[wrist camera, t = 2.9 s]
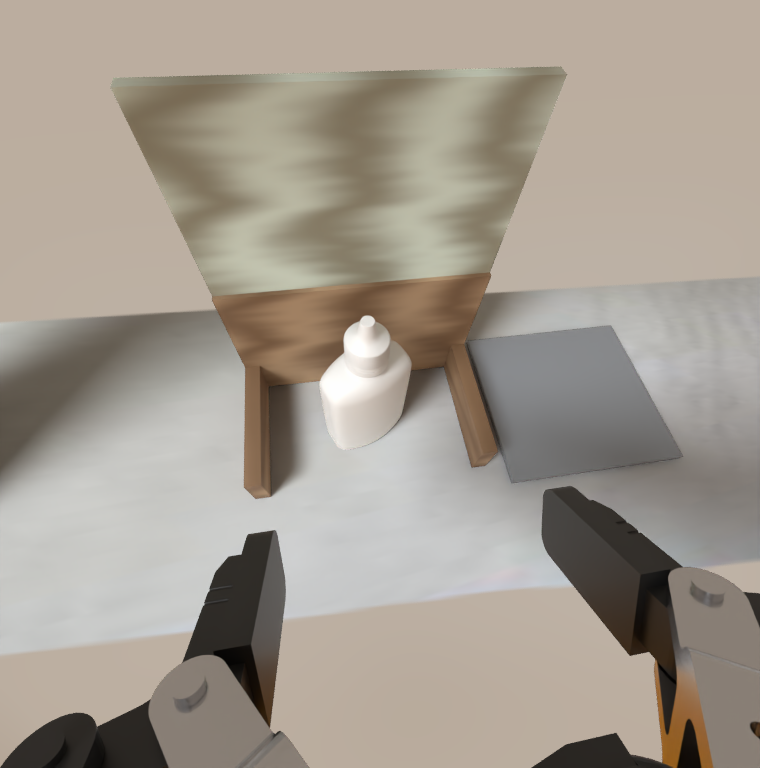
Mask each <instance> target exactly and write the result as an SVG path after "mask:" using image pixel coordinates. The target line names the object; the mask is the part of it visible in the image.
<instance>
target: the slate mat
mask: <svg viewBox="0 0 760 768" xmlns="http://www.w3.org/2000/svg"><path fill="white" fill-rule="evenodd" d="M467 345H468V349H469V352H470V355H471V358H472V361H473V364H474V367H475V370H476V373H477V377H478V380H479V383H480V386H481V389H482V392H483V395H484V398H485V401H486V405H487V408H488V411H489V414H490V417H491V420H492V423H493V426H494V430H495V433H496V436H497V439H498V442H499V445H500V448H501V451H502V454H503V458H504V461H505V464H506V467H507V470H508V473H509V476H510V479H511V483H518V482H524V481H531V480H537V479H544V478H551V477H557V476H564V475H570V474H577V473H584V472H590V471H597V470H603V469H610V468H617V467H623V466H630V465H637V464H643V463H650V462H656V461H663V460H670V459H676V458H680V457H683V455H682V453H681V451H680V450H679V448H678V446H677V444H676V442H675V441H674V439H673V437H672V435H671V433H670V432H669V430H668V428H667V426H666V424H665V422H664V421H663V419H662V417H661V415H660V413H659V412H658V410H657V408H656V406H655V404H654V403H653V401H652V399H651V397H650V395H649V394H648V392H647V390H646V388H645V386H644V384H643V383H642V381H641V379H640V377H639V375H638V374H637V372H636V370H635V368H634V366H633V365H632V363H631V361H630V359H629V357H628V356H627V354H626V352H625V350H624V348H623V346H622V345H621V343H620V341H619V339H618V337H617V336H616V334H615V332H614V330H613V328H612V327H611V326H601V327H592V328H582V329H573V330H564V331H554V332H545V333H536V334H526V335H517V336H508V337H498V338H489V339H479V340H470V341H468V342H467Z"/></svg>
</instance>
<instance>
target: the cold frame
mask: <svg viewBox="0 0 760 768" xmlns="http://www.w3.org/2000/svg"><path fill="white" fill-rule="evenodd" d="M566 76H567V74H566V72H565V71H564V70H563V69H562V67H531V68H491V69H490V68H489V69H450V70H410V71H371V72H332V73H292V74H254V75H253V74H252V75H214V76H176V77H175V76H173V77H135V78H113V81H112V84H111V89H112V91H113V93H114V95H115V97H116V99H117V101H118V103H119V106H120V108H121V110H122V112H123V114H124V116H125V118H126V120H127V122H128V124H129V126H130V128H131V130H132V132H133V134H134V136H135V138H136V141H137V142H138V145H139V147H140V148H141V151H142V153H143V155H144V157H145V159H146V161H147V163H148V165H149V167H150V169H151V171H152V173H153V175H154V177H155V180H156V182H157V184H158V186H159V188H160V190H161V192H162V194H163V196H164V198H165V200H166V202H167V204H168V206H169V208H170V210H171V212H172V214H173V216H174V219H175V221H176V223H177V225H178V227H179V228H180V231H181V233H182V235H183V237H184V239H185V241H186V243H187V245H188V247H189V249H190V251H191V253H192V255H193V258H194V260H195V261H196V264H197V266H198V268H199V270H200V272H201V274H202V276H203V278H204V280H205V282H206V284H207V286H208V288H209V290H210V292H211V294H212V301H213V303H214V305H215V307H216V309H217V311H218V313H219V315H220V317H221V319H222V321H223V323H224V325H225V327H226V330H227V332H228V334H229V336H230V338H231V340H232V342H233V344H234V346H235V348H236V350H237V352H238V354H239V356H240V358H241V360H242V362H243V364H244V366H245V442H244V488H245V489H246V490H247V491H248V492H249V493H250V494H251V495H252V496H253V497H254V498H255V499H259V498H265V497H271V471H270V424H269V386H278V385H287V384H296V383H305V382H313V381H320V380H321V377H322V376H323V374H324V373H325V371H326V370H327V369H328V368H329V366H330V365H331V364H332V363H333V362H334V361H335V360H336V359H337V358H338V357H340V356H341V355H342V354H343V353H344V341H343V340H344V339H343V338H344V334H345V332H346V330H347V329H348V328H349V327H350V326H351V325H352V324H354V323H356V322H359V321H360V320H361V318H362V317H363V316H372V317H373V318H374V319H375V322H377V323H380V324H381V325H383V326H384V327H385V328H386V329H387V330H388V332H389V334H390V338H391V340H392V341H395V342H397V343H398V344H399V345H400V346H401V347H402V348H403V349H404V350H405V352H406V353H407V354H408V356H409V357H410V360H411V362H412V366H411V370H419V369H428V368H436V367H444V369H445V373H446V376H447V380H448V384H449V387H450V391H451V395H452V398H453V402H454V405H455V409H456V413H457V416H458V420H459V423H460V427H461V431H462V434H463V438H464V442H465V445H466V449H467V452H468V456H469V460H470V463H471V467H479V466H485V465H486V464H487V463H488V462H489V461H490V460H491V459H492V458H493V457H494V455H495V454H496V453H497V452H498V450H497V447H496V443H495V440H494V437H493V434H492V431H491V428H490V424H489V421H488V418H487V415H486V412H485V409H484V405H483V402H482V399H481V396H480V393H479V390H478V386H477V383H476V380H475V377H474V374H473V371H472V368H471V364H470V361H469V358H468V355H467V352H466V349H465V345H464V343H465V341H466V338H467V336H468V333H469V331H470V328H471V326H472V323H473V321H474V318H475V316H476V313H477V311H478V308H479V306H480V303H481V301H482V298H483V295H484V293H485V290H486V288H487V285H488V283H489V280H490V278H491V274H490V270H491V268H492V265H493V263H494V260H495V258H496V255H497V253H498V250H499V247H500V245H501V242H502V240H503V237H504V235H505V232H506V229H507V227H508V224H509V222H510V219H511V216H512V214H513V212H514V209H515V206H516V204H517V201H518V199H519V196H520V194H521V191H522V188H523V186H524V183H525V181H526V178H527V176H528V173H529V171H530V168H531V165H532V163H533V160H534V158H535V155H536V153H537V150H538V147H539V145H540V142H541V140H542V137H543V135H544V132H545V130H546V127H547V124H548V122H549V119H550V117H551V114H552V112H553V109H554V106H555V104H556V101H557V99H558V96H559V94H560V91H561V89H562V86H563V83H564V81H565V78H566Z"/></svg>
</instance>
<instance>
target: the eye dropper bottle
mask: <svg viewBox="0 0 760 768" xmlns="http://www.w3.org/2000/svg"><path fill="white" fill-rule="evenodd" d="M343 339H344V340H343V341H344V353H343V354H342V355H341V356H340V357H338V358H337V359H336V360H335V361H334V362H333V363H332V364H331V365H330V366H329V368H328V369H327V370H326V371H325V373H324V374H323V376H322V377H321V380H320V383H319V387H320V394H321V399H322V405H323V410H324V415H325V420H326V425H327V430H328V433H329V434H330V436H331V437H332V439H333V441H334V442H335V444H336V445H337V446H338V447H339V448H340V449H343V450H351V449H356V448H359V447H363V446H365V445H368V444H370V443H372V442H374V441H376V440H378V439H379V438H381V437H382V436H384V435H385V434H386V433H387V432H388V431H389V430H390V429H391V428H392V427H393V426H394V425H395V424H396V423H397V421H398V420H399V418H400V417H401V415H402V411H403V406H404V402H405V397H406V392H407V388H408V383H409V378H410V373H411V366H412V362H411V360H410V357H409V356H408V354H407V353H406V352H405V350H404V349H403V348H402V347H401V346H400V345H399V344H398V343H397V342H395V341H392V340H391V338H390V334H389V332H388V330H387V329H386V328H385V327H384V326H383V325H381V324H380V323H377V322H375V319H374V318H373V317H372V316H363V317H362V318H361V320H360V321H359V322H356V323H354V324H352V325H351V326H350V327H349V328H348V329H347V330H346V332H345V334H344V338H343Z"/></svg>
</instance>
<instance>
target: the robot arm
mask: <svg viewBox="0 0 760 768" xmlns="http://www.w3.org/2000/svg"><path fill="white" fill-rule="evenodd" d="M542 540H543V544H544V547H545V549H546V551H547V553H548V554H549V556H550V557H551V558H552V560H553V561H554V562H555V563H556V565H557V566H558V567H559V568H560V570H561V571H562V572H563V573H564V575H565V576H566V577H567V578H568V580H569V581H570V582H571V583H572V584H573V586H574V587H575V588H576V589H577V590H578V592H579V593H580V594H581V596H582V597H583V598H584V599H585V600H586V602H587V603H588V604H589V606H590V607H591V608H592V609H593V611H594V612H595V613H596V614H597V616H598V617H599V618H600V619H601V621H602V622H603V623H604V624H605V626H606V627H607V628H608V629H609V631H610V632H611V633H612V634H613V636H614V637H615V638H616V639H617V640H618V642H619V643H620V644H621V645H622V647H623V648H624V649H625V650H626V651H627V653H628V654H629V655H630V656H631V655H636V654H641V653H646V652H650V653H651V655H652V656H653V657H654V658H655V664H654V676H655V685H656V696H657V705H658V714H659V724H660V733H661V743H662V763H661V762H658V761H655V760H653V759H649V758H645V757H641V756H636V755H630V754H629V752H628V751H627V749H626V747H625V746H624V744H623V743H622V741H621V740H620V738H619V736H618V735H617V733H614V734H609V735H605V736H601V737H596V738H592V739H588V740H583V741H579V742H575V743H570V744H567V745H565V746H563V747H562V748H560V749H559V750H557V751H556V752H554V753H553V754H551V755H550V756H548V757H547V758H545V759H544V760H542V761H541V762H540V763H538V764H536V765H535V766H533V767H532V768H760V594H759V593H747V592H742V591H741V590H740V589H739V588H738V587H737V586H735V585H734V584H733V583H731V582H730V581H728V580H727V579H724V578H723V577H721V576H719V575H717V574H714V573H712V572H709V571H706V570H702V569H698V568H691V567H682V566H681V565H680V564H679V563H677V562H676V561H675V560H674V559H672V558H671V557H670V556H669V555H667V554H666V553H665V552H664V551H663V550H661V549H660V548H659V547H658V546H656V545H655V544H654V543H653V542H651V541H650V540H649V539H648V538H647V537H645V536H644V535H643V534H642V533H638V530H637V529H635V528H634V527H633V526H632V525H631V524H629V523H626V520H624V519H623V518H622V517H621V516H619V515H618V514H617V513H616V512H615V511H613V510H612V509H610V508H608V507H606V506H604V505H602V504H600V503H598V502H596V501H594V500H591V501H590V500H588V499H587V498H586V497H585V496H584V495H583V494H581V493H580V492H579V491H578V490H577V489H575V488H574V487H572V486H568V487H561V488H555V489H548V490H546V491H545V492H544V495H543V513H542ZM209 589H210V591H209V592H208V594H207V597H206V599H205V602H204V603H205V605H204V606H203V608H202V610H201V613H200V616H199V619H198V621H197V624H196V627H195V630H194V632H193V635H192V638H191V641H190V644H189V646H188V649H187V652H186V654H185V657H184V660H183V662H182V663H181V664H180V665H178V666H177V667H176V668H174V669H173V670H172V671H171V672H169V673H168V674H167V675H166V676H165V677H164V679H163V680H162V681H161V682H160V683H159V685H158V686H157V688H156V689H155V691H154V693H153V695H152V698H151V699H150V700H149V701H147V702H146V703H144V704H143V705H141V706H139V707H137V708H135V709H133V710H131V711H129V712H127V713H125V714H123V715H121V716H119V717H116V718H115V719H112V720H110V721H109V722H106V723H104V724H102V725H100V726H98V727H97V726H96V723H95V721H94V719H93V718H92V717H91V716H89V715H88V714H84V713H73V714H68V715H65V716H62V717H59V718H57V719H55V720H53V721H51V722H49V723H47V724H45V725H44V726H42V727H41V728H39V729H38V730H36V731H35V732H34V733H33V734H31V735H30V736H29V737H28V738H26V739H25V740H24V741H23V742H22V743H21V744H20V745H19V746H18V747H17V748H16V749H15V750H14V751H13V752H12V753H11V754H10V755H9V757H8V758H7V759H6V760H5V762H4V763H3V765H2V766H1V767H0V768H309V767H308V765H307V764H306V762H305V761H304V760H303V758H302V757H301V755H300V754H299V753H298V751H297V750H296V748H295V747H294V745H293V744H292V742H291V741H290V740H289V739H288V737H287V736H286V735H285V734H284V733H283V732H281V731H279V732H277V733H276V734H274V733H273V732H272V731H271V729H270V723H271V714H272V706H273V698H274V690H275V681H276V673H277V664H278V655H279V648H280V639H281V631H282V623H283V614H284V606H285V595H286V588H285V575H284V570H283V564H282V558H281V553H280V547H279V542H278V536H277V533H276V531H275V530H274V531H267V532H260V533H254V534H248V535H247V538H246V541H245V544H244V548H243V551H242V555H236V556H230V557H228V558H227V559H226V560H225V561H224V563H223V564H222V565H221V566H220V567H219V568H218V570H217V571H216V572H215V575H214V578H213V580H212V583H211V586H210V588H209Z"/></svg>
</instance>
